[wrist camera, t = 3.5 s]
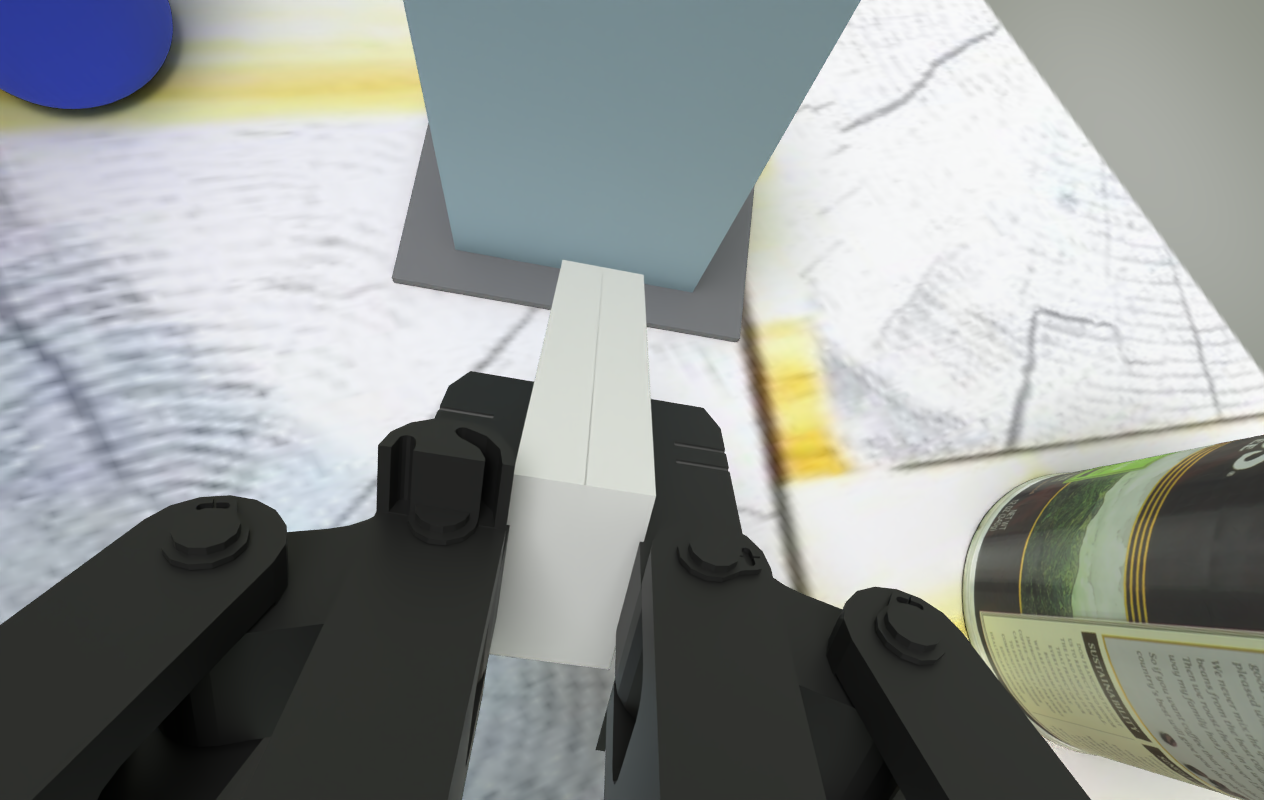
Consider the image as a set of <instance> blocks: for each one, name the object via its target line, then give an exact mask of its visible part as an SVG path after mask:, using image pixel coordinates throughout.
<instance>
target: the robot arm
mask: <svg viewBox="0 0 1264 800" xmlns="http://www.w3.org/2000/svg"><path fill="white" fill-rule="evenodd" d="M724 451H725V448H724V443H723V438H722V433H721V429H720V427H719V426H718V425H717V424H716V422H715V421H714V420H713V419H712V418H711V416H710V415H709V414H708V413H707V412H706V410H705V409H704V408H701V407H695V406H689V405H683V404H677V403H671V402H665V401H659V400H653V399H651V398H650V380H649V362H648V344H647V326H646V308H645V291H644V275H642V274H637V273H631V272H626V271H621V270H615V269H610V268H605V267H599V266H594V265H589V264H583V263H578V262H572V261H567V260H562V264H561V269H560V273H559V277H558V282H557V286H556V290H555V295H554V299H553V303H552V308H551V312H550V316H549V321H548V325H547V329H546V334H545V338H544V342H543V347H542V351H541V355H540V360H539V364H538V368H537V373H536V377H535V381H534V382H532V381H526V380H520V379H514V378H508V377H502V376H496V375H490V374H484V373H478V372H472V371H470V372H469V373H467V374H466V375H464V376H463V377H461V378H460V379H458V380H457V381H455V382H454V383H452V384H451V385H450V386H449V387H448V389H447V391H446V394H445V396H444V398H443V400H442V403H441V405H440V409H439V410H438V412H437V414H436V416H435V419H430V420H424V421H418V422H412V423H409V424H407V425H405V426H402V427H400V428H398V429H396V430H394V431H391V432H390V433H389V434H388V435H387V436H386V437H385V438H384V440H383V441H382V442H381V443H380V444H379V445H378V475H377V511H376V514H375V516H374V517H372V518H370V519H368V520H365V521H362V522H359V523H356V524H353V525H350V526H344V527H337V528H331V529H321V530H308V531H296V532H287V527H286V524H285V523H284V521H283V520H282V518H281V517H280V515H279V514H278V512H277V511H276V510H274V509H273V508H271V507H269V506H267V505H265V504H263V503H261V502H259V501H257V500H254V499H248V498H242V497H236V496H231V495H229V496H213V497H199V498H196V499H192V500H188V501H185V502H181V503H178V504H174V505H170V506H168V507H167V508H165V509H163V510H161V511H159V512H157V513H156V514H154V515H152V516H150V517H148V518H146V519H144V520H143V521H142V522H140V523H139V524H138V525H136V526H135V527H133V528H132V529H131V530H129V531H128V532H127V533H125V534H124V535H123V536H121V537H120V538H118V539H117V540H116V541H114V542H113V543H112V544H110V545H109V546H108V547H106V548H105V549H103V550H102V551H101V552H99V553H98V554H97V555H95V556H94V557H93V558H91V559H90V560H88V561H87V562H86V563H84V564H83V565H82V566H80V567H79V568H78V569H76V570H75V571H73V572H72V573H71V574H69V575H68V576H67V577H65V578H64V579H63V580H61V581H60V582H58V583H57V584H56V585H54V586H53V587H52V588H50V589H49V590H47V591H46V592H45V593H43V594H42V595H41V596H39V597H38V598H37V599H35V600H34V601H32V602H31V603H30V604H28V605H27V606H26V607H24V608H23V609H22V610H20V611H19V612H17V613H16V614H15V615H13V616H12V617H11V618H9V619H8V620H7V621H5V622H4V623H2V624H1V625H0V800H462V796H463V791H464V786H465V781H466V776H467V771H468V765H469V760H470V755H471V750H472V745H473V740H474V735H475V730H476V725H477V720H478V715H479V710H480V705H481V700H482V695H483V688H484V681H485V674H486V667H487V662H488V657H489V654H491V655H499V656H506V657H514V658H522V659H530V660H538V661H545V662H553V663H561V664H569V665H576V666H584V667H592V668H600V669H608V670H610V666H611V662H612V658H613V655H614V651H615V647H616V661H615V681H614V685H613V688H612V692H611V695H610V699H609V703H608V706H607V710H606V713H605V717H604V721H603V724H602V728H601V732H600V735H599V739H598V743H597V747H596V750H600V751H605V749H606V753H605V785H604V800H1091V799H1090V798H1089V796H1088V795H1087V794H1086V793H1085V791H1084V790H1083V789H1082V787H1081V786H1080V785H1079V784H1078V782H1077V781H1076V780H1075V778H1074V777H1073V776H1072V774H1071V773H1070V772H1069V771H1068V769H1067V768H1066V767H1065V765H1064V764H1063V763H1062V761H1061V760H1060V759H1059V758H1058V756H1057V755H1056V754H1055V752H1054V751H1053V750H1052V749H1051V747H1050V746H1049V745H1048V743H1047V742H1046V741H1045V739H1044V738H1043V737H1042V736H1041V734H1040V733H1039V732H1038V730H1037V729H1036V728H1035V726H1034V725H1033V724H1032V723H1031V721H1030V720H1029V719H1028V717H1027V716H1026V715H1025V714H1024V712H1023V711H1022V710H1021V708H1020V707H1019V706H1018V704H1017V703H1016V702H1015V701H1014V699H1013V698H1012V697H1011V695H1010V694H1009V693H1008V691H1007V690H1006V689H1005V688H1004V686H1003V685H1002V684H1001V682H1000V681H999V680H998V679H997V677H996V676H995V675H994V673H993V672H992V671H991V669H990V668H989V667H988V666H987V664H986V663H985V662H984V660H983V659H982V658H981V656H980V655H979V654H978V653H977V651H976V650H975V649H974V647H973V646H972V645H971V644H970V642H969V641H968V640H967V638H966V637H965V636H964V634H963V633H962V632H961V631H960V630H959V629H958V628H957V627H956V626H955V625H954V624H953V623H952V622H951V621H950V620H949V619H948V618H947V617H946V616H945V615H944V614H943V613H942V612H941V611H939V610H937V609H936V608H934V607H933V606H931V605H930V604H928V603H927V602H925V601H924V600H922V599H921V598H918V597H915V596H913V595H910V594H907V593H905V592H902V591H900V590H897V589H889V588H880V587H872V588H868V589H864V590H860V591H857V592H856V593H855V594H854V595H853V596H852V597H851V598H850V599H849V600H848V601H847V602H846V603H845V605H844V607H843V610H842V609H839V608H837V607H834V606H832V605H829V604H827V603H824V602H822V601H819V600H816V599H814V598H811V597H809V596H806V595H804V594H801V593H799V592H797V591H795V590H793V589H791V588H789V587H787V586H785V585H783V584H782V583H780V582H779V581H777V580H776V579H774V578H773V576H772V571H771V568H770V566H769V564H768V562H767V560H766V558H765V556H764V554H763V552H762V551H761V550H760V549H759V548H758V547H757V546H756V545H755V544H754V543H753V542H752V541H751V540H750V539H749V538H748V537H747V536H745V535H743V534H742V529H741V525H740V520H739V515H738V510H737V505H736V501H735V496H734V491H733V486H732V481H731V477H730V472H728V468H729V467H728V462H727V457H726V454H724Z"/></svg>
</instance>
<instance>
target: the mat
mask: <svg viewBox="0 0 1264 800" xmlns="http://www.w3.org/2000/svg"><path fill="white" fill-rule="evenodd" d="M753 195H754V187H753V188H752V190H751V192H750V194H749V195H748V197H747V199H746V200H745V202H744V204H743V206H742V207H741V209H740V211H739V213H738V214H737V216H736V218H735V220H734V221H733V223H732V225H731V227H730V228H729V230H728V232H727V233H726V235H725V237H724V239H723V240H722V242H721V244H720V246H719V247H718V249H717V251H716V253H715V254H714V256H713V258H712V259H711V261H710V263H709V265H708V266H707V268H706V270H705V272H704V273H703V275H702V277H701V279H700V280H699V282H698V284H697V286H696V287H695V289H694V291H693V292H687V291H681V290H676V289H670V288H664V287H659V286H653V285H648V284H644V291H645V308H646V326H648V327H653V328H659V329H665V330H670V331H676V332H682V333H688V334H693V335H699V336H705V337H710V338H716V339H722V340H728V341H733V342H737V341H738V340H739V339H740V331H741V320H742V310H743V300H744V289H745V279H746V268H747V258H748V247H749V237H750V227H751V216H752V206H753ZM559 273H560V268H554V267H548V266H543V265H537V264H532V263H526V262H521V261H515V260H510V259H504V258H499V257H493V256H488V255H482V254H477V253H471V252H466V251H460V250H455V245H454V240H453V236H452V231H451V226H450V221H449V217H448V212H447V207H446V202H445V197H444V193H443V188H442V183H441V178H440V174H439V169H438V164H437V159H436V154H435V150H434V145H433V140H432V135H431V131H430V126H429V123H428V127H427V131H426V136H425V140H424V144H423V148H422V152H421V157H420V161H419V165H418V169H417V174H416V178H415V182H414V186H413V191H412V195H411V199H410V203H409V207H408V212H407V216H406V220H405V224H404V229H403V233H402V237H401V241H400V246H399V250H398V254H397V258H396V262H395V267H394V271H393V275H392V279H393V281H394V282H396V283H402V284H407V285H413V286H419V287H424V288H430V289H436V290H442V291H447V292H453V293H459V294H464V295H470V296H476V297H482V298H487V299H493V300H499V301H505V302H510V303H516V304H522V305H527V306H533V307H539V308H545V309H550V310H551V308H552V303H553V299H554V295H555V290H556V286H557V282H558V277H559Z"/></svg>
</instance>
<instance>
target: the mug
mask: <svg viewBox="0 0 1264 800" xmlns="http://www.w3.org/2000/svg"><path fill="white" fill-rule="evenodd" d="M172 35H173V23H172V14H171V8H170V5H169V1H168V0H0V89H2V90H4V91H5V92H7V93H9V94H12V95H14V96H16V97H18V98H20V99H23V100H26V101H29V102H31V103H35V104H39V105H42V106H47V107H54V108H61V109H83V108H92V107H97V106H102V105H106V104H109V103H113V102H115V101H118V100H120V99H122V98H125V97H127V96H129V95H131V94H132V93H134V92H135V91H137V90H138V89H140V88H142V87H143V86H144V85H145V84H146V83H147V82H149V81H150V80H151V79H152V78H153V77H154V76H155V74H156V73H157V72H158V70H159V69H160V68H161V66H162V65H163V63H164V61H165V59H166V57H167V54H168V52H169V50H170V46H171V41H172Z"/></svg>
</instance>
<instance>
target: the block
mask: <svg viewBox="0 0 1264 800" xmlns="http://www.w3.org/2000/svg"><path fill="white" fill-rule="evenodd" d="M860 1H861V0H403V2H404V7H405V11H406V16H407V21H408V26H409V30H410V35H411V40H412V45H413V49H414V54H415V59H416V64H417V69H418V73H419V78H420V83H421V88H422V92H423V97H424V102H425V107H426V112H427V116H428V121H429V126H430V131H431V135H432V140H433V145H434V150H435V154H436V159H437V164H438V169H439V174H440V178H441V183H442V188H443V193H444V197H445V202H446V207H447V212H448V217H449V221H450V226H451V231H452V236H453V240H454V245H455V250H460V251H466V252H471V253H477V254H482V255H488V256H493V257H499V258H504V259H510V260H515V261H521V262H526V263H532V264H537V265H543V266H548V267H554V268H560V269H561V264H562V260H567V261H572V262H578V263H583V264H589V265H594V266H599V267H605V268H610V269H615V270H621V271H626V272H631V273H637V274H642V275H644V284H648V285H653V286H659V287H664V288H670V289H676V290H681V291H687V292H693V291H694V289H695V287H696V286H697V284H698V282H699V280H700V279H701V277H702V275H703V273H704V272H705V270H706V268H707V266H708V265H709V263H710V261H711V259H712V258H713V256H714V254H715V253H716V251H717V249H718V247H719V246H720V244H721V242H722V240H723V239H724V237H725V235H726V233H727V232H728V230H729V228H730V227H731V225H732V223H733V221H734V220H735V218H736V216H737V214H738V213H739V211H740V209H741V207H742V206H743V204H744V202H745V200H746V199H747V197H748V195H749V194H750V192H751V190H752V188H753V187H754V185H755V183H756V181H757V180H758V178H759V176H760V174H761V173H762V171H763V169H764V167H765V166H766V164H767V162H768V161H769V159H770V157H771V155H772V154H773V152H774V150H775V148H776V147H777V145H778V143H779V141H780V140H781V138H782V136H783V135H784V133H785V131H786V129H787V128H788V126H789V124H790V122H791V121H792V119H793V117H794V115H795V114H796V112H797V110H798V108H799V107H800V105H801V103H802V102H803V100H804V98H805V96H806V95H807V93H808V91H809V89H810V88H811V86H812V84H813V82H814V81H815V79H816V77H817V75H818V74H819V72H820V70H821V69H822V67H823V65H824V63H825V62H826V60H827V58H828V56H829V55H830V53H831V51H832V49H833V48H834V46H835V44H836V43H837V41H838V39H839V37H840V36H841V34H842V32H843V30H844V29H845V27H846V25H847V23H848V22H849V20H850V18H851V16H852V15H853V13H854V11H855V10H856V8H857V6H858V4H859V3H860Z"/></svg>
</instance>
